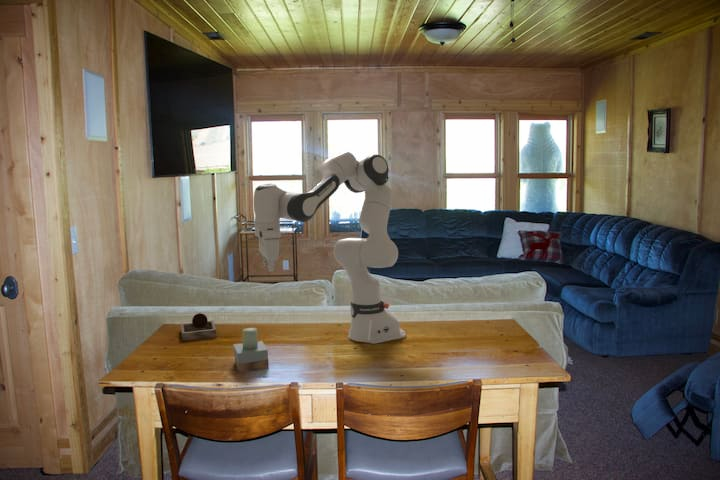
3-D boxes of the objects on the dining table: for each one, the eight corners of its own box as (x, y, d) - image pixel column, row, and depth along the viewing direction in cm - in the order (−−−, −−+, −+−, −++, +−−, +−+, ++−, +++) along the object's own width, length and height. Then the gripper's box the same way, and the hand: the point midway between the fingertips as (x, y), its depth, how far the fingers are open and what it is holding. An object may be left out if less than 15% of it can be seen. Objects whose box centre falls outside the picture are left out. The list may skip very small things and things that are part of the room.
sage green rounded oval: (256, 344, 200) (255, 327, 199) (258, 348, 195) (258, 331, 194) (241, 345, 198) (241, 328, 197) (243, 350, 194) (243, 332, 193)
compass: (191, 336, 230) (190, 318, 229) (192, 330, 238) (191, 313, 236) (212, 334, 232) (211, 317, 230) (212, 328, 239) (211, 311, 238)
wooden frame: (213, 327, 241) (213, 320, 240) (216, 336, 229) (216, 329, 228) (181, 331, 237) (180, 324, 236) (182, 340, 224) (181, 333, 224)
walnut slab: (263, 359, 204) (263, 350, 204) (268, 369, 195) (268, 359, 194) (235, 363, 201) (234, 353, 201) (238, 373, 192) (238, 363, 191)
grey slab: (262, 350, 204) (261, 340, 203) (268, 359, 195) (267, 349, 194) (233, 354, 200) (233, 344, 200) (238, 363, 191) (237, 353, 191)
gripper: (253, 227, 212) (255, 264, 214) (263, 234, 193) (264, 275, 195) (270, 226, 214) (272, 262, 216) (281, 233, 195) (283, 273, 197)
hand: (268, 268), depth 205 cm, fingers open, 8 cm apart
